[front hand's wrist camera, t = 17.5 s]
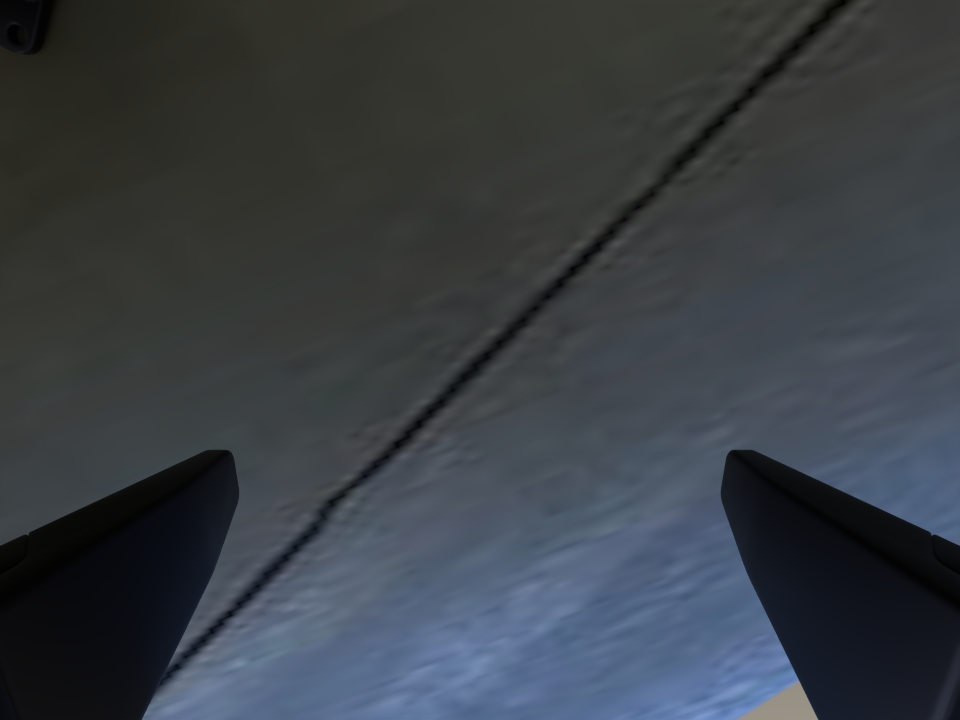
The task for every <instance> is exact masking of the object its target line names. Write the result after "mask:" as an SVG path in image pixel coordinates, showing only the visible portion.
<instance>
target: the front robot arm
mask: <svg viewBox="0 0 960 720" xmlns="http://www.w3.org/2000/svg"><path fill="white" fill-rule="evenodd" d="M51 1H52V0H0V46H2V47H4V48H6V49H8V50H10V51H12V52H16V53H19V54H27V55H30V54H36V53H37V52H38V51H39V50H40V49H41V47H42V45H43V40H44V35H45V30H46V25H47V21H48V16H49V11H50V6H51ZM19 27H21V28H22V29H23V31H24V33H25V40H24V42H23V43H21V42H20V41H19V40H18V38H17V32H16V31H17V30H18V28H19ZM238 499H239V486H238V480H237V474H236V468H235V462H234V457H233V455H232V453H231V452H230V451H229V450H207V451H204V452H202V453H200V454H198V455H195V456H193V457H191V458H189V459H187V460H185V461H182V462H180V463H178V464H176V465H174V466H172V467H170V468H167V469H165V470H163V471H161V472H159V473H157V474H154V475H152V476H150V477H148V478H146V479H144V480H141V481H139V482H137V483H135V484H133V485H131V486H129V487H126V488H124V489H122V490H120V491H118V492H116V493H113V494H111V495H109V496H107V497H105V498H103V499H101V500H98V501H96V502H94V503H92V504H90V505H88V506H85V507H83V508H81V509H79V510H77V511H75V512H72V513H70V514H68V515H66V516H64V517H62V518H60V519H57V520H55V521H53V522H51V523H49V524H47V525H44V526H42V527H40V528H38V529H36V530H34V531H32V532H30V533H29V536H28V535H23V536H20V537H18V538H16V539H14V540H12V541H10V542H8V543H5V544H3V545H1V546H0V720H142V718H143V716H144V714H145V712H146V710H147V708H148V706H149V704H150V702H151V700H152V698H153V695H154V693H155V691H156V689H157V687H158V685H159V683H160V681H161V679H162V677H163V675H164V673H165V671H166V669H167V667H168V665H169V663H170V661H171V659H172V657H173V654H174V652H175V650H176V648H177V646H178V644H179V642H180V640H181V638H182V636H183V634H184V632H185V630H186V628H187V626H188V624H189V622H190V620H191V618H192V616H193V614H194V611H195V609H196V607H197V605H198V603H199V601H200V599H201V597H202V595H203V593H204V591H205V589H206V587H207V585H208V583H209V580H210V578H211V576H212V574H213V572H214V569H215V566H216V564H217V561H218V558H219V555H220V552H221V550H222V547H223V544H224V541H225V538H226V535H227V532H228V529H229V527H230V524H231V521H232V518H233V515H234V512H235V509H236V507H237V504H238ZM721 499H722V504H723V507H724V509H725V512H726V515H727V518H728V521H729V524H730V527H731V529H732V532H733V535H734V538H735V541H736V544H737V547H738V550H739V552H740V555H741V558H742V561H743V564H744V566H745V569H746V571H747V574H748V576H749V578H750V580H751V583H752V585H753V587H754V589H755V591H756V593H757V595H758V597H759V599H760V601H761V603H762V605H763V607H764V609H765V611H766V614H767V616H768V618H769V620H770V622H771V624H772V626H773V628H774V630H775V632H776V634H777V636H778V638H779V640H780V642H781V644H782V646H783V648H784V650H785V652H786V654H787V657H788V659H789V661H790V663H791V665H792V667H793V669H794V671H795V673H796V675H797V677H798V679H799V681H800V683H801V685H802V687H803V689H804V691H805V693H806V695H807V698H808V700H809V702H810V704H811V706H812V708H813V710H814V712H815V714H816V716H817V718H818V720H960V546H959V545H957V544H955V543H952V542H950V541H948V540H946V539H944V538H942V537H940V536H937V535H932V536H931V533H930V532H929V531H926V530H924V529H922V528H920V527H918V526H916V525H913V524H911V523H909V522H907V521H905V520H903V519H900V518H898V517H896V516H894V515H892V514H890V513H888V512H885V511H883V510H881V509H879V508H877V507H875V506H872V505H870V504H868V503H866V502H864V501H862V500H859V499H857V498H855V497H853V496H851V495H849V494H847V493H844V492H842V491H840V490H838V489H836V488H834V487H831V486H829V485H827V484H825V483H823V482H821V481H819V480H816V479H814V478H812V477H810V476H808V475H806V474H803V473H801V472H799V471H797V470H795V469H793V468H790V467H788V466H786V465H784V464H782V463H780V462H778V461H775V460H773V459H771V458H769V457H767V456H765V455H762V454H760V453H758V452H756V451H753V450H731V451H730V452H729V453H728V455H727V457H726V462H725V468H724V474H723V480H722V486H721Z"/></svg>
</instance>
